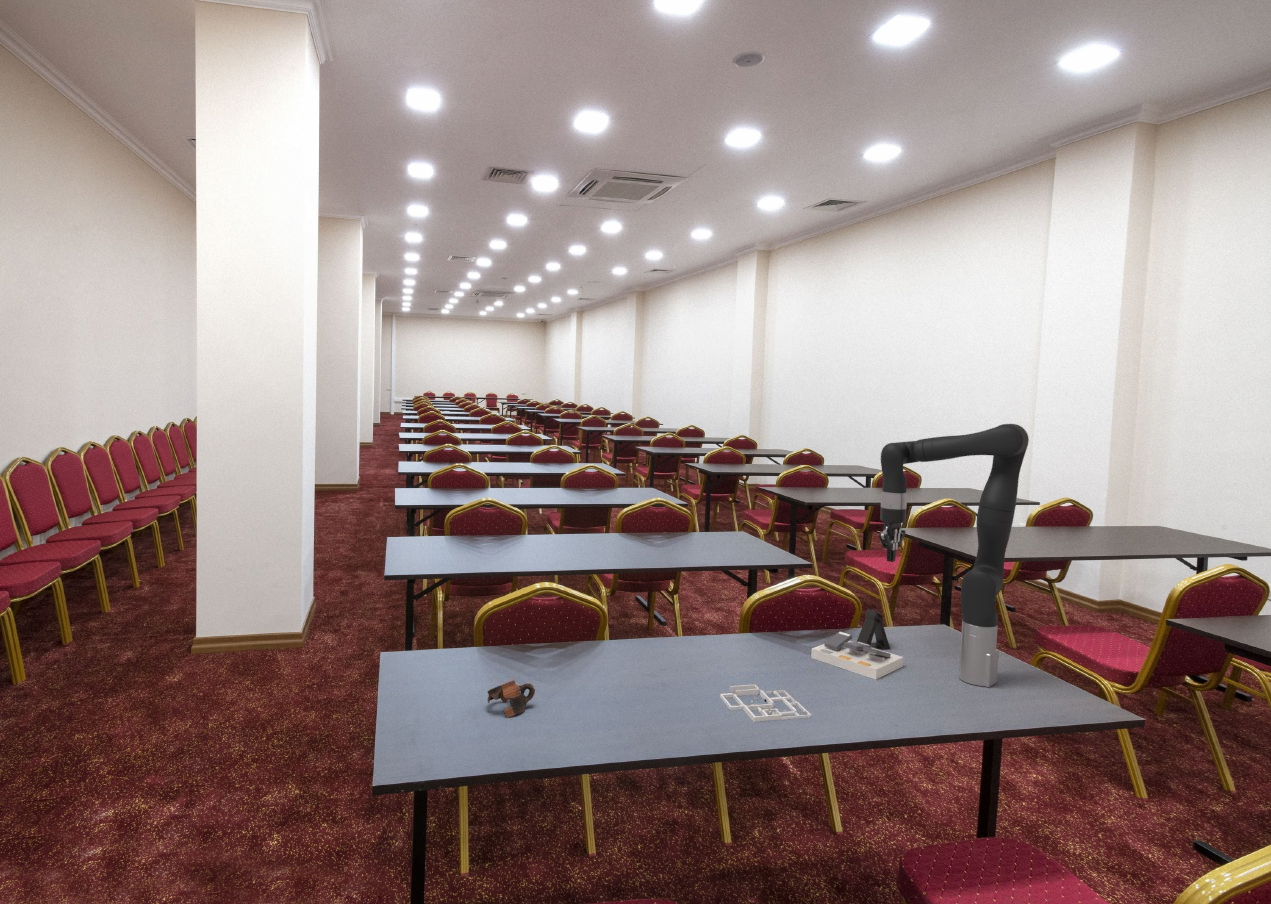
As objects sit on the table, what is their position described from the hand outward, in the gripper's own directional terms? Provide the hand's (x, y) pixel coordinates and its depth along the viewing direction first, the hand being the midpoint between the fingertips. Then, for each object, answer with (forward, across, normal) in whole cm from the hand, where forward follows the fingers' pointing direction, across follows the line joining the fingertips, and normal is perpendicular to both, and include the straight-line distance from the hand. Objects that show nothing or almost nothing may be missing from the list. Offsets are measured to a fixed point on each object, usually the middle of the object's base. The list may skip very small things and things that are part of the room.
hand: (890, 561), depth 217 cm
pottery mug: (+31, -111, +43) cm, 123 cm away
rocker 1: (+26, -11, +10) cm, 31 cm away
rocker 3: (+26, -11, -2) cm, 29 cm away
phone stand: (+31, +6, +8) cm, 33 cm away
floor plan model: (+32, -61, +5) cm, 69 cm away
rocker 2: (+26, -11, +4) cm, 29 cm away
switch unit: (+31, -11, +4) cm, 33 cm away
